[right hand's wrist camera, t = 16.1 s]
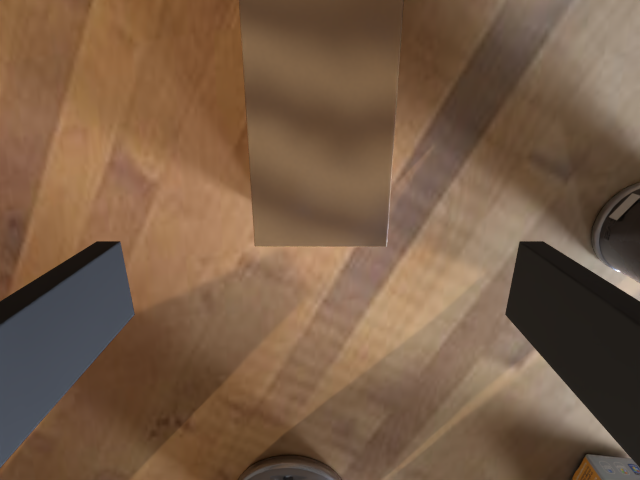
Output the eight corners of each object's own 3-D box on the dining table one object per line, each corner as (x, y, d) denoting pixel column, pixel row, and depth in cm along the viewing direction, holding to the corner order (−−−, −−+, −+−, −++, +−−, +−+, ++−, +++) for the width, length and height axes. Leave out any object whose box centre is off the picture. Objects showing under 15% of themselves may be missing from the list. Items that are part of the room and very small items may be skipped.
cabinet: (260, -15, 30) (234, -65, 21) (382, -15, 30) (408, -65, 21) (270, 211, 37) (254, 247, 28) (370, 211, 37) (387, 247, 28)
